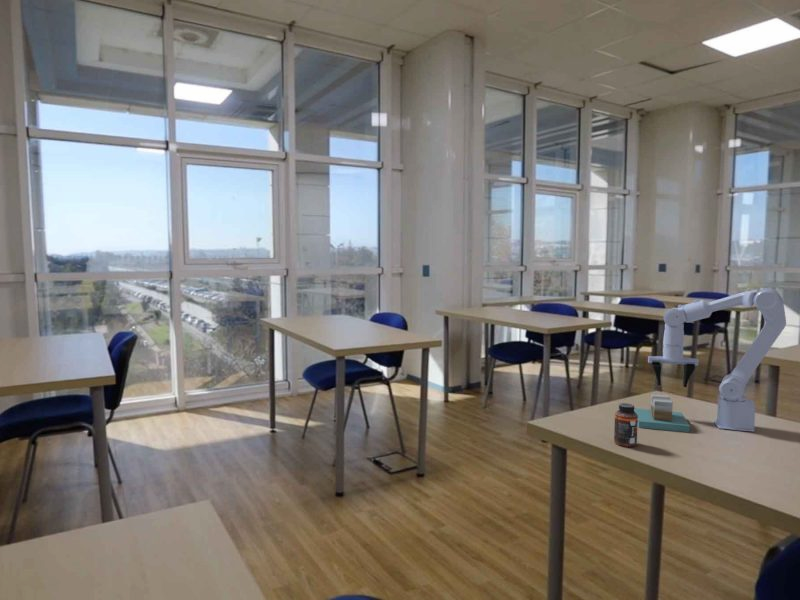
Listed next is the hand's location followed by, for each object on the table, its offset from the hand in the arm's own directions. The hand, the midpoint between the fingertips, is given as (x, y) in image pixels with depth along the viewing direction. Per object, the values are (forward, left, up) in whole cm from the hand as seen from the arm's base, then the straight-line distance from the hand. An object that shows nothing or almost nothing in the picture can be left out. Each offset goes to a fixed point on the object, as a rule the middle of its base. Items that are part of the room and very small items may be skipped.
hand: (671, 385), depth 170 cm
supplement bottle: (+16, +31, -11) cm, 36 cm away
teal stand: (+4, +8, -10) cm, 14 cm away
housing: (+4, +8, -8) cm, 12 cm away
